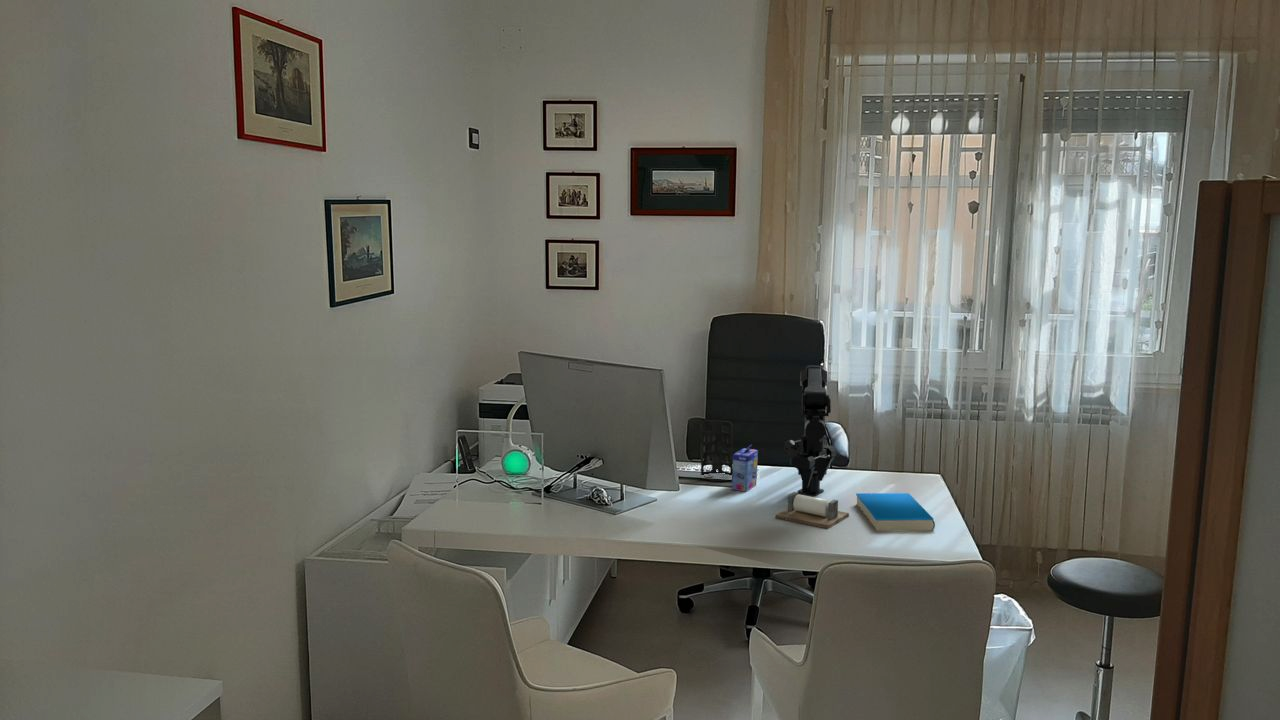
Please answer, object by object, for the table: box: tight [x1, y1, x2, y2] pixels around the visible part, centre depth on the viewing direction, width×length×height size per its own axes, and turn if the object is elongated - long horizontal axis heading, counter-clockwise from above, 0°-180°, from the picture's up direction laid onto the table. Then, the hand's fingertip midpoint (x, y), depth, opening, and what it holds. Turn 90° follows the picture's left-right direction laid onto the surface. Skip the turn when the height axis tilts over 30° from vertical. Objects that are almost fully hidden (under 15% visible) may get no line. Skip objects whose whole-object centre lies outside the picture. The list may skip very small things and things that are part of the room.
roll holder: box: [775, 491, 850, 530], centre depth 281 cm, size 14×17×6 cm
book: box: [855, 492, 936, 531], centre depth 281 cm, size 17×4×25 cm
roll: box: [793, 494, 832, 517], centre depth 281 cm, size 5×10×5 cm, turn 53°
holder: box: [699, 420, 733, 483], centre depth 321 cm, size 11×8×20 cm
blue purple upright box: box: [731, 444, 759, 493], centre depth 311 cm, size 10×6×14 cm, turn 152°
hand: (813, 484), depth 280 cm, fingers open, 9 cm apart
